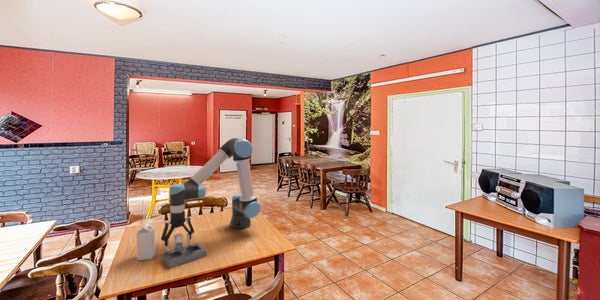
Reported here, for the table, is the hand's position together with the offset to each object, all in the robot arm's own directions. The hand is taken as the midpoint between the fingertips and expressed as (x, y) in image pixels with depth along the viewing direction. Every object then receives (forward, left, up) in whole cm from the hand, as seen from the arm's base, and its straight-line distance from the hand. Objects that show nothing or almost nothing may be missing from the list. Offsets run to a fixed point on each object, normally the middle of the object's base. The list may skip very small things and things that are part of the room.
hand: (178, 248), depth 155 cm
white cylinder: (0, 0, -1) cm, 1 cm away
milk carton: (+16, -3, -1) cm, 16 cm away
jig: (+1, +12, -1) cm, 12 cm away
